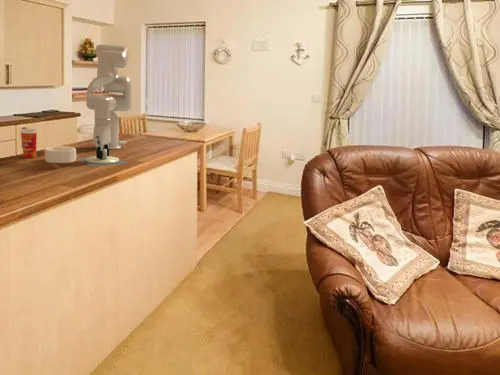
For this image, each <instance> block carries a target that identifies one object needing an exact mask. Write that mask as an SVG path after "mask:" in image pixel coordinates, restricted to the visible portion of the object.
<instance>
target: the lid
mask: <svg viewBox="0 0 500 375" xmlns="http://www.w3.org/2000/svg"><path fill="white" fill-rule="evenodd" d="M102 151H103V159H99V158H96V155H94V156H93V155H92V156H88V157H85V158H86V161H87V162H88V163H93V164H114V163H118V162H119V159H120V158H119V157H116V156H115V157H112V156H113V155H109V156H108V157H107V149H103V148H102Z"/></svg>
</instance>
